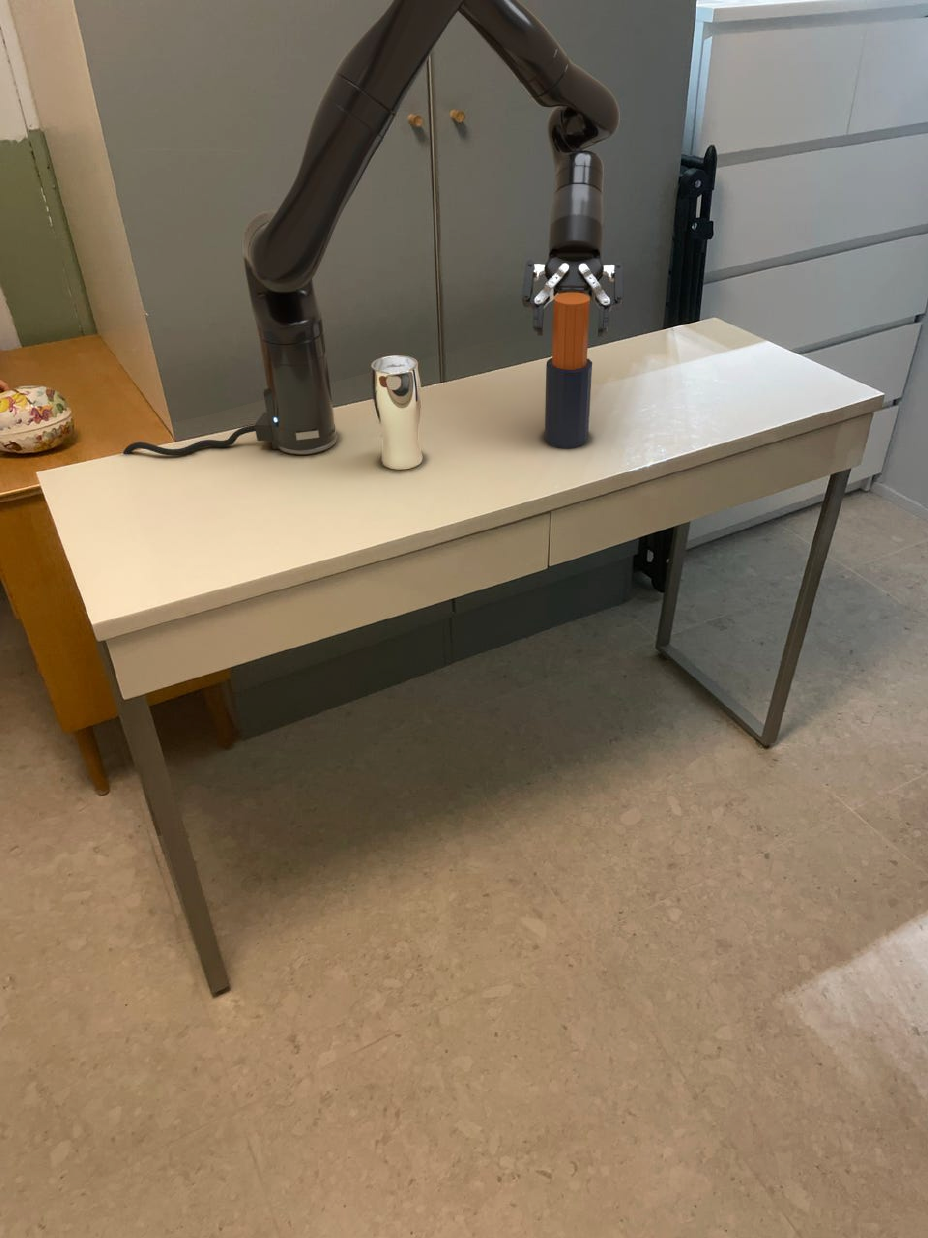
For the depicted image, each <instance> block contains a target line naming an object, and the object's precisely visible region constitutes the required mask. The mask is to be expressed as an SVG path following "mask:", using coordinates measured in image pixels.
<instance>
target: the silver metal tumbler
mask: <svg viewBox="0 0 928 1238" xmlns="http://www.w3.org/2000/svg"><path fill="white" fill-rule="evenodd" d="M370 367H371V394H372V402H373V407H374V411H375V415H376V419H377V422H378V425H379V430H380V433H381V439H382V450H381V464H382V465H383V466H384V467H386V468H388V469H391V470H395V471H404V470H410V469H413V468H417V466H419V465H420V464H422V462H423V453H422V450H421V445H420V439H419V430H420V429H419V428H420V421H421V411H422V385H421V375H420V370H419V362H418V360H417V359H416V358H414V357H412V356H409V355H403V354H401V355H400V354H393V355H387V356H382V357H379V358H377V359H375V360H374V361H372V363H371V365H370Z"/></svg>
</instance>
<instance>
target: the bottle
mask: <svg viewBox="0 0 928 1238" xmlns="http://www.w3.org/2000/svg"><path fill="white" fill-rule="evenodd" d="M545 365H546V366H545V367H546V368H545V369H546V370H545V405H544V406H545V407H544V408H545V409H544V440H545V443H547V444H548V445H549V446H552V447H556V448H560V449H574V448H579V447H582V446H584V445H585V444H586V443H587V442H588V440H589V429H590V427H589V426H590V411H591V393H592V390H591V389H592V376H593V375H592V374H593V361H591V359H590V358H588V357H587V365H586V366H585V367H583V368H581V369H576V370H563V369H559V368H556V367H554V366H553V365H552V357H550V358H549V359H548V360H547V361H546V364H545Z"/></svg>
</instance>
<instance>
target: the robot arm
mask: <svg viewBox="0 0 928 1238" xmlns="http://www.w3.org/2000/svg"><path fill="white" fill-rule="evenodd" d="M457 13H459V14H460V15H461V17H463V18H464V19H465V21H466V22H467V23H469V25H471V27H473V29H474V30H475V31H476V32H477V33H478V35H479V36H480V37H481V38H482V39H483V40H484V42H485V43H486V44H487V46H488V47H489V48H490V49H491V50H492V52H493V53H494V54H495V55H496V56H497V58H498V59H499V60H500V62H501V63H502V64H503V65H504V67H505V68H506V69H507V70H508V72H509V73H510V75H512V77H513V78H514V79H515V80H516V82H517V83H518V84H519V86H520V87H521V88H522V89H523V90H524V92H525V93H526V94H527V95H528V97H529V98H530V99H531V101H533V102H534V103H535V105H536V106H538V107H540V108H544V109H550V108H553V109H552V110H551V112H550V114H549V116H548V119H547V123H546V134H547V138H548V142H549V146H550V151H551V156H552V161H553V165H554V171H555V179H554V190H553V193H554V194H553V202H552V206H551V214H550V223H549V224H550V225H549V243H548V259H547V261H546V263H545V264H540V263H535V262H534V261H533V260H532V259H530V260H527V261H526V263H525V268H524V269H525V270H524V275H523V284H522V291H521V301H522V306H523V307H524V308H531V310H533V317H532V328H533V332H537V337H539V336H540V337H541V336H543V335H544V320H545V308H546V307H547V306H548V305H549V303H552V302H553V301H554V297H555V296H556V295H558V294H561V293H567V292H577V293H583V294H586V295H588V296H589V297H590V300H591V301H592V302H593V303H595V305H596V306H597V307H598V308H599V310H598V324H597V325H598V326H597V328H598V329H597V337H598V338H603V337H604V334H607V333H608V331H609V323H610V322H609V321H610V312H611V311H613V310H615V309H616V310H620V309H622V308H623V301H624V263H623V262H622V261H620V260H619V261H615V263H614V264H605V265H604V264H603V261H602V253H603V252H602V250H603V234H604V233H603V232H604V225H605V222H604V216H605V215H604V214H605V213H604V185H605V184H604V183H605V182H604V181H605V164H604V161H603V159H602V158H601V156H600V155H599V154H597V153H596V152H595V151H592V150H591V151H590V150H587V149H589V148H592V147H594V146H595V145H598V144H600V143H603V142H605V141H606V140H609V139H610V138H612V137H614V135H615V134H616V133H617V131H618V129H619V126H620V122H621V113H620V107H619V104H618V102H617V100H616V98H615V96H614V94H613V93H612V92H611V90H609V89H608V87H606V86H605V85H604V84H603V83H602V82H601V81H599V80H598V79H596V78H595V77H593V76H592V75H591V74H589V73H588V72H587V71H585V70H584V69H583V68H581V67H580V66H578V65H577V64H575V63H574V62H573V61H572V60H571V59H570V58H569V56H568V54H567V53H566V52H565V51H564V49H563V48H562V47H561V45H560V44H559V42H557V39H556V38H555V37H554V36H553V35H552V33H551V32H550V31H549V30H548V29H547V28H546V26H545V25H544V24H543V23H542V22H541V21H540V20H539V19H538V17H537V16H535V15H534V14H533V12H532V11H530V9H528V8H527V7H526V6H525V5H524V4H522V3H521V2H520V1H519V0H392V1H391V2H390V4H389V5H388V7H387V8H386V9H385V11H383V13H382V14H381V15H380V16H379V18H378V19H376V20H375V21H374V22H373V23H372V24H371V26H370V27H369V28H368V29H366V31H365V32H364V33H363V34H362V35H361V36H360V37H359V38H358V39H357V41H356V42H355V43H354V44H353V45H352V46H351V47H350V49H349V50H348V51H347V52H346V53H345V55H344V56H343V57H342V59H341V61H340V62H339V64H338V65H337V66H336V69H335V70H334V73H333V75H331V79H330V80H329V82H328V84H327V86H326V88H325V90H324V92H323V94H322V96H321V98H320V100H319V102H318V104H317V106H316V108H315V110H314V111H315V112H314V114H313V118H312V120H311V123H310V126H309V130H308V133H307V138H306V141H305V146H304V149H303V154H302V157H301V160H300V165H299V168H298V171H297V173H296V175H295V178H294V181H293V182H292V184H291V187H290V188H289V190H288V192H287V193H286V195H285V196H284V199H283V201H282V202H281V204H280V205H279V207H278V209H275V210H274V209H272V210H265V211H262V212H260V213H258V214H256V215H254V216H253V218H251V219H250V220H249V222H248V223H247V224H246V226H245V228H244V231H243V233H242V238H241V252H242V261H243V265H244V266H243V267H244V271H245V277H246V282H247V287H248V293H249V298H250V304H251V309H252V313H253V316H254V319H255V323H256V327H257V332H258V338H259V345H260V350H261V356H262V362H263V368H264V374H265V380H266V386H265V388H264V389H263V399H264V404H265V405H264V406H265V409H266V411H264V412H262V414H261V415H260V416H259V418H258V419H257V421H256V422H255V424H252V425H248V426H244V427H241V428H238V429H237V430H235V431H233V432H232V434H231V435H230V436H229V438H228V439H225V440H217V439H204V440H199V441H196V442H194V443H191V444H189V445H187V446H184V447H182V448H181V447H180V448H167V447H162V446H158V445H156V444H152V443H150V442H145V441H134V442H132V443H130V444H128V445H127V446H126V447H125V448H124V450H123V451H122V454H123V455H129V454H131V453H132V452H133V451H135V450H137V449H143V450H147V451H150V452H153V453H156V454H159V455H164V456H171V457H172V456H183V455H186V454H189V453H192V452H194V451H197V450H199V449H201V448H207V447H213V448H214V447H215V448H226V447H230V446H232V445H233V444H234V443H235V442H236V441H237V439H238V438H239V437H241V436H243V435H245V434H249V433H253V432H255V436H256V441H257V442H271V445H272V449H274V450H280V451H281V452H283V453H287V454H291V455H301V456H302V455H312V454H317V453H321V452H323V451H326V450H328V449H330V448H332V447H333V446H335V444H336V443H337V441H338V435H337V433H338V432H337V431H336V423H335V416H334V415H335V414H334V407H333V406H334V405H333V398H332V390H331V382H330V374H329V366H328V357H327V350H326V343H325V333H324V325H323V317H322V312H321V309H320V306H319V303H318V300H317V296H316V292H315V288H314V287H315V286H314V281H313V278H314V276H315V275H316V273H317V271H318V269H319V267H320V264H321V262H322V260H323V257H324V256H325V252H326V249H327V247H328V246H329V243H330V240H331V238H332V236H333V233H334V231H335V229H336V227H337V224H338V222H339V220H340V218H341V215H342V213H343V212H344V210H345V208H346V206H347V205H348V203H349V201H350V199H351V198H352V196H353V194H354V193H355V191H356V190H357V188H358V186H359V184H360V182H362V179H363V177H364V175H365V174H366V172H367V170H368V169H369V167H370V165H371V164H372V161H373V160H374V158H375V156H376V154H377V153H378V151H379V150H380V148H381V147H382V145H383V143H384V142H385V140H386V138H387V136H388V135H389V133H390V131H391V130H392V127H393V125H394V124H395V122H396V120H397V118H398V116H399V114H400V112H401V110H402V108H403V106H404V104H405V103H406V100H407V98H408V96H409V95H410V93H411V91H412V89H413V88H414V86H415V84H416V82H417V81H418V78H419V77H420V75H421V73H422V71H423V69H424V68H425V66H426V64H427V62H428V60H429V59H430V56H431V54H432V52H433V51H434V50H435V47H436V46H437V43H438V42H439V40H440V39H441V37H442V35H443V34H444V33H445V31H446V29H447V27H449V25H450V23H451V22H452V20H453V19H454V17H455V16H456V15H457ZM542 275H544V276H545V278H546V279H547V282H546V283H545V284H544V285H543V287H542V289H541V290H540V291H539V292H538V294H537V295H533V292H534V284H535V282H538V280H540V277H541V276H542ZM604 276H606V277H607V280H608V281H609V282H611V283H613V295H612V296H608V295H607V294H606V292H605V290H603V287H602V285H601V283H600V282H599V281H600V280H601V279H602V278H603V277H604Z"/></svg>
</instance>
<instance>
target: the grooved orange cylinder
mask: <svg viewBox="0 0 928 1238" xmlns="http://www.w3.org/2000/svg"><path fill="white" fill-rule="evenodd" d="M590 305H591V298H590V297H589V295H588V294H583V293H577V292H567V293H561V294H558V295H556V296H555V297H554V299H553V310H552V311H553V315H552V344H551V345H552V347H551V348H552V350H551V358H552V365H553V366H554V367H556V368H559V369H563V370H576V369H581V368H583V367H585V366H586V365H587V358H588V345H589V327H590V309H591V308H590V307H591V306H590Z"/></svg>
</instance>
